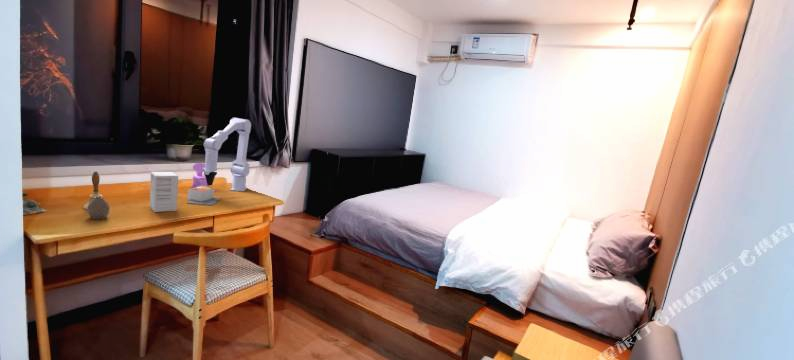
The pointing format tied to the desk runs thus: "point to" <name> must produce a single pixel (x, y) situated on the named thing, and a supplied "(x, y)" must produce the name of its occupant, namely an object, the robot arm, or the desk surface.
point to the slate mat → (204, 202)
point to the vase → (98, 208)
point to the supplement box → (163, 191)
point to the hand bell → (95, 183)
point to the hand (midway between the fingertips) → (209, 185)
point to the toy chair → (199, 176)
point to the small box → (200, 193)
